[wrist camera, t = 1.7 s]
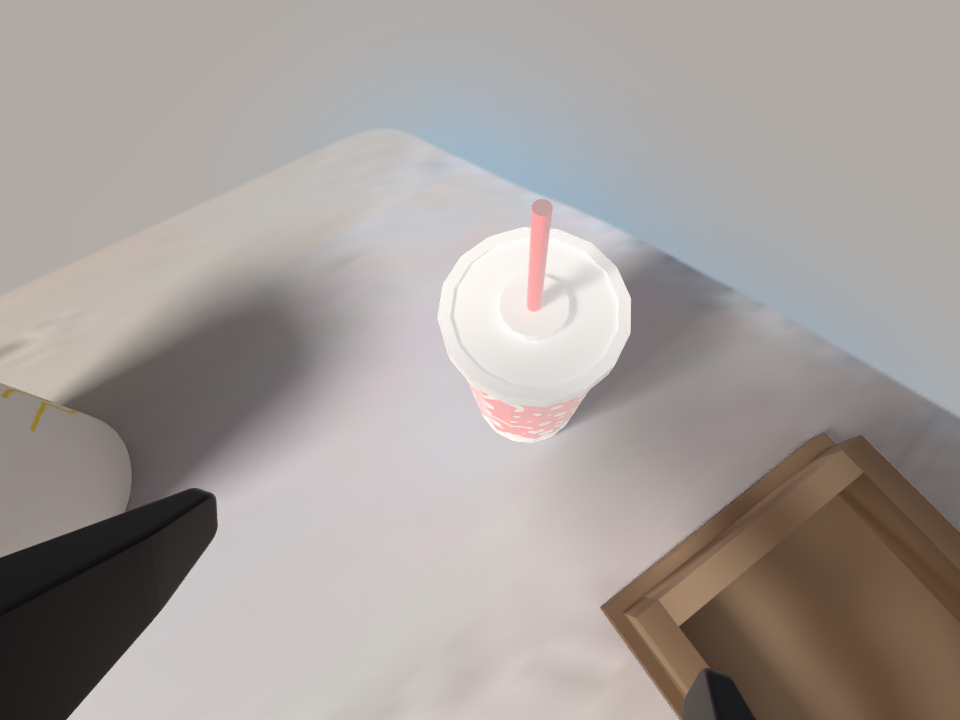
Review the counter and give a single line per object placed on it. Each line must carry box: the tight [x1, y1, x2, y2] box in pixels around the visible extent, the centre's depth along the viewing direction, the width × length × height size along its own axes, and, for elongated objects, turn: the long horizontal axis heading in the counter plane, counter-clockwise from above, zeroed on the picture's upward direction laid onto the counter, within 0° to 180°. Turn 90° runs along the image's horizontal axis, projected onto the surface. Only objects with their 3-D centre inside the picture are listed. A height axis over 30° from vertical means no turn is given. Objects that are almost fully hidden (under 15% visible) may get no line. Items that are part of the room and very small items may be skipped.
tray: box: [600, 433, 960, 720], centre depth 19 cm, size 12×12×4 cm
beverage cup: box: [438, 199, 631, 443], centre depth 19 cm, size 6×6×14 cm
